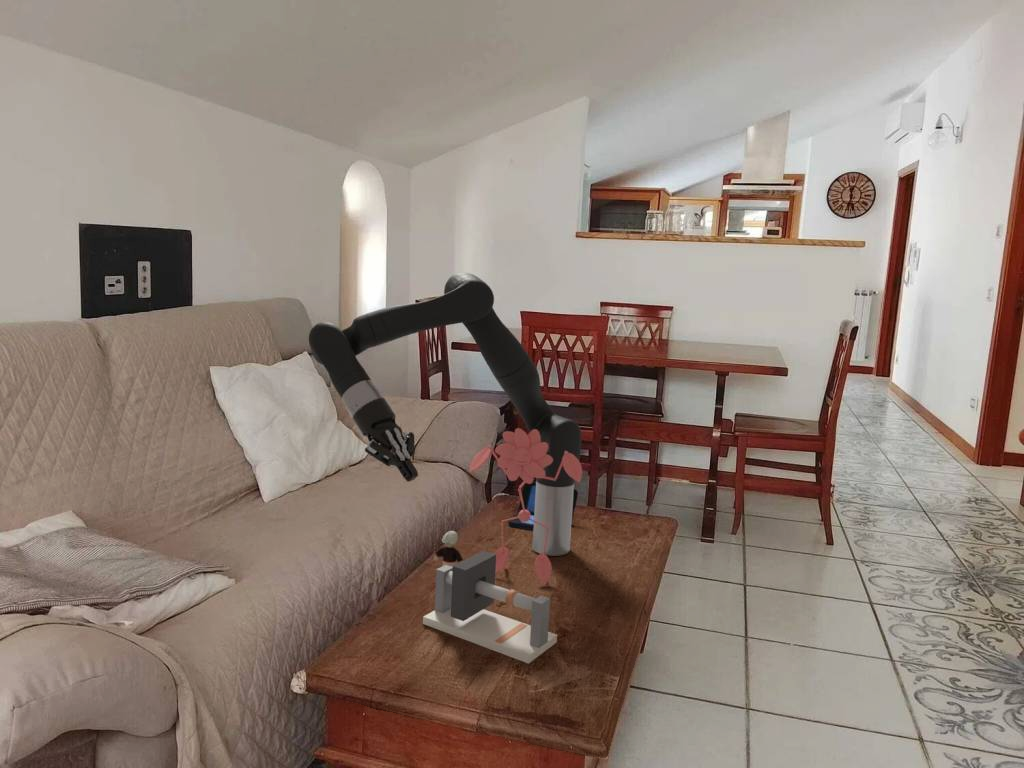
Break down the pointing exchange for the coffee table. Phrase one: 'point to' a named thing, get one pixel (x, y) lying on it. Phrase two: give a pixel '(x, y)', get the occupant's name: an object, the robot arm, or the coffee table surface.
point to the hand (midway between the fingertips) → (413, 478)
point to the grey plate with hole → (471, 585)
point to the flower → (526, 479)
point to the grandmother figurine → (449, 550)
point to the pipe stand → (494, 620)
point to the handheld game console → (532, 506)
